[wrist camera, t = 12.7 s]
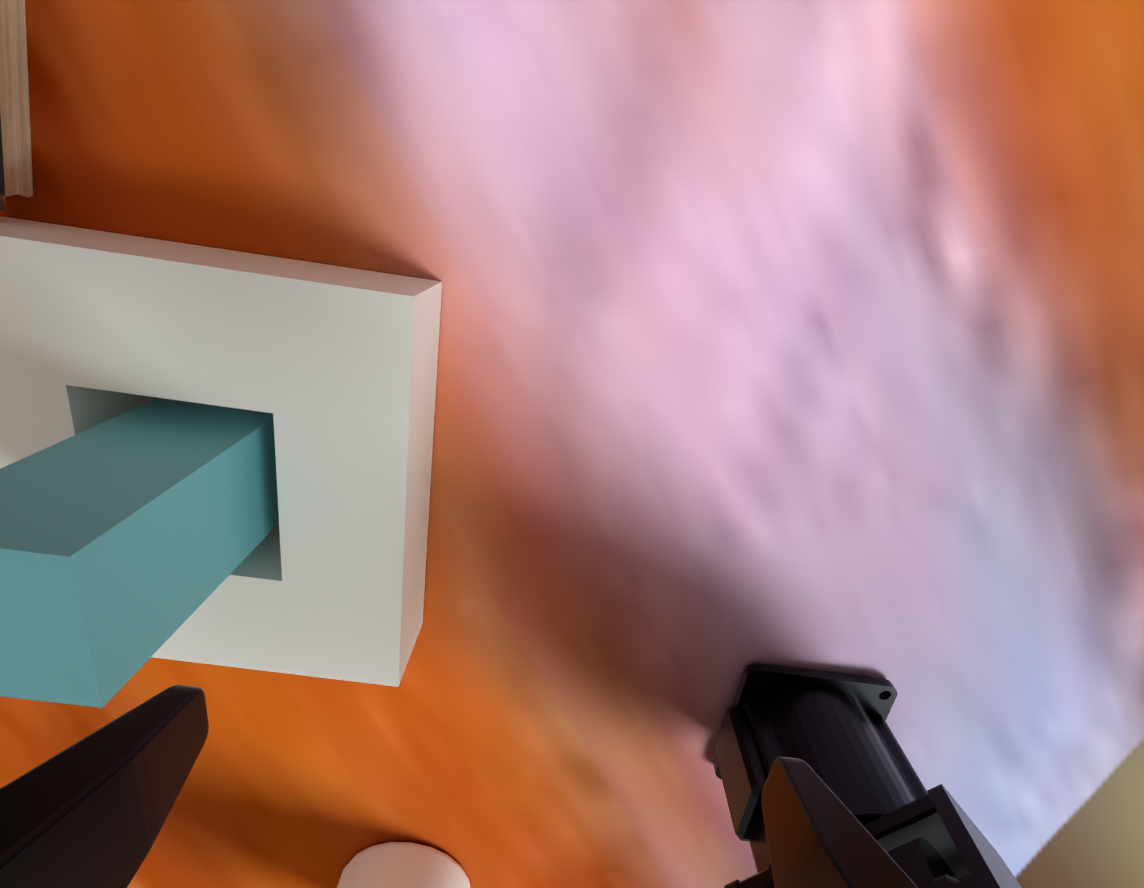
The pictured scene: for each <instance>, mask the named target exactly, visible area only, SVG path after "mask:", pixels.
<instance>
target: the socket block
mask: <svg viewBox="0 0 1144 888" xmlns="http://www.w3.org/2000/svg"><path fill="white" fill-rule="evenodd" d="M441 294H442V281H436V280H429V279H422V278H416V277H409V276H402V275H395V274H389V273H382V272H375V271H368V270H362V269H355V268H348V267H341V266H335V265H328V264H321V263H314V262H307V261H301V260H294V259H287V258H280V257H274V256H267V255H260V254H253V253H247V252H240V251H233V250H226V249H220V248H213V247H206V246H199V245H193V244H186V243H179V242H172V241H166V240H159V239H152V238H145V237H139V236H132V235H125V234H118V233H112V232H105V231H98V230H91V229H85V228H78V227H71V226H64V225H57V224H51V223H44V222H37V221H30V220H24V219H17V218H10V217H0V469H1V468H3V467H5V466H7V465H9V464H12V463H14V462H16V461H18V460H21V459H23V458H25V457H27V456H29V455H32V454H34V453H36V452H38V451H41V450H43V449H45V448H47V447H50V446H52V445H54V444H56V443H58V442H61V441H63V440H65V439H67V438H70V437H72V436H74V435H76V434H78V433H81V432H83V431H85V430H87V429H90V428H92V427H94V426H96V425H98V424H101V423H103V422H105V421H107V420H110V419H112V418H114V417H116V416H118V415H121V414H123V413H125V412H127V411H130V410H132V409H134V408H136V407H138V406H141V405H143V404H145V403H147V402H150V401H152V400H154V397H158V398H165V399H172V400H179V401H187V402H194V403H201V404H209V405H216V406H223V407H230V408H238V409H245V410H252V411H259V412H267V413H273V419H274V438H275V456H276V475H277V494H278V513H279V524H278V525H277V526H276V527H275V528H274V529H273V530H272V531H271V532H270V533H269V534H268V535H267V536H266V537H265V538H264V539H263V540H262V541H261V542H260V544H259V545H258V546H257V547H256V548H255V549H254V550H253V551H252V552H251V553H250V554H249V555H248V556H247V557H246V558H245V559H244V560H243V561H242V562H241V563H240V564H239V565H238V567H237V568H236V569H235V570H234V571H233V572H232V573H231V574H230V575H229V576H228V577H227V578H226V579H225V580H224V581H223V582H222V583H221V584H220V585H219V586H218V587H217V589H216V590H215V591H214V592H213V593H212V594H211V595H210V596H209V597H208V598H207V599H206V600H205V601H204V602H203V603H202V604H201V605H200V606H199V607H198V608H197V609H196V610H195V612H194V613H193V614H192V615H191V616H190V617H189V618H188V619H187V620H186V621H185V622H184V623H183V624H182V625H181V626H180V627H179V628H178V629H177V630H176V631H175V632H174V633H173V635H172V636H171V637H170V638H169V639H168V640H167V641H166V642H165V643H164V644H163V645H162V646H161V647H160V648H159V649H158V650H157V651H156V652H155V653H154V654H153V655H152V656H151V657H154V658H163V659H171V660H179V661H188V662H196V663H204V664H213V665H221V666H229V667H238V668H246V669H254V670H263V671H271V672H279V673H288V674H296V675H304V676H313V677H321V678H329V679H338V680H346V681H354V682H362V683H371V684H379V685H387V686H396V687H398V686H399V684H400V681H401V679H402V676H403V673H404V671H405V668H406V665H407V663H408V660H409V658H410V655H411V652H412V650H413V647H414V645H415V642H416V639H417V637H418V634H419V631H420V629H421V626H422V624H423V609H424V591H425V574H426V556H427V539H428V521H429V504H430V486H431V469H432V451H433V434H434V416H435V399H436V382H437V364H438V347H439V329H440V312H441Z"/></svg>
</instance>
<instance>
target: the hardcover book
mask: <svg viewBox="0 0 1144 888" xmlns="http://www.w3.org/2000/svg"><path fill="white" fill-rule="evenodd" d="M12 195H21V196H24V197H28V198H29V197H30V196H32V197H33V176H32V153H31V130H30V107H29V84H28V61H27V38H26V15H25V0H0V210H6V196H12Z"/></svg>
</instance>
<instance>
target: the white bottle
mask: <svg viewBox="0 0 1144 888" xmlns="http://www.w3.org/2000/svg"><path fill="white" fill-rule="evenodd" d="M337 888H470V883H469V878H468V877H467V875H466V873H465V872H464V870H463V868H462V867H461V865H459V864H458V863H457V862H456V861H455V860H453V859H452V858H451V857H450V856H449V855H447V854H445V853H443V852H441V851H439V850H436V849H434V848H432V847H430V846H425V845H421V844H416V843H412V842H388V843H383V844H378V845H374V846H371V847H369V848H367V849H365V850H363V851H361V852H359V853H357V854H356V855H355V857H354V858H353V859H352V860H351V861H350V862H349V863H348V864H347V866H346V867H345V868H344V869H343V872H342V875H341V877H340V880H339V883H338V886H337Z"/></svg>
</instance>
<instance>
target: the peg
mask: <svg viewBox="0 0 1144 888" xmlns="http://www.w3.org/2000/svg"><path fill="white" fill-rule="evenodd" d="M278 524H279V513H278V494H277V475H276V456H275V438H274V419H273V413H267V412H259V411H252V410H245V409H238V408H230V407H223V406H216V405H209V404H201V403H194V402H187V401H179V400H172V399H165V398H156V399H154V400H152V401H150V402H147V403H145V404H143V405H141V406H138V407H136V408H134V409H132V410H130V411H127V412H125V413H123V414H121V415H118V416H116V417H114V418H112V419H110V420H107V421H105V422H103V423H101V424H98V425H96V426H94V427H92V428H90V429H87V430H85V431H83V432H81V433H78V434H76V435H74V436H72V437H70V438H67V439H65V440H63V441H61V442H58V443H56V444H54V445H52V446H50V447H47V448H45V449H43V450H41V451H38V452H36V453H34V454H32V455H29V456H27V457H25V458H23V459H21V460H18V461H16V462H14V463H12V464H9V465H7V466H5V467H3V468H1V469H0V696H3V697H11V698H20V699H29V700H38V701H47V702H56V703H65V704H74V705H83V706H91V707H100V708H103V707H104V706H105V705H106V704H107V702H108V701H109V700H110V699H111V698H112V697H113V696H114V695H115V694H116V693H117V692H118V691H119V690H120V689H121V688H122V687H123V686H124V685H125V684H126V683H127V682H128V681H129V679H130V678H131V677H132V676H133V675H134V674H135V673H136V672H137V671H138V670H139V669H140V668H141V667H142V666H143V665H144V664H145V663H146V662H147V661H148V660H149V659H150V658H151V656H152V655H153V654H154V653H155V652H156V651H157V650H158V649H159V648H160V647H161V646H162V645H163V644H164V643H165V642H166V641H167V640H168V639H169V638H170V637H171V636H172V635H173V633H174V632H175V631H176V630H177V629H178V628H179V627H180V626H181V625H182V624H183V623H184V622H185V621H186V620H187V619H188V618H189V617H190V616H191V615H192V614H193V613H194V612H195V610H196V609H197V608H198V607H199V606H200V605H201V604H202V603H203V602H204V601H205V600H206V599H207V598H208V597H209V596H210V595H211V594H212V593H213V592H214V591H215V590H216V589H217V587H218V586H219V585H220V584H221V583H222V582H223V581H224V580H225V579H226V578H227V577H228V576H229V575H230V574H231V573H232V572H233V571H234V570H235V569H236V568H237V567H238V565H239V564H240V563H241V562H242V561H243V560H244V559H245V558H246V557H247V556H248V555H249V554H250V553H251V552H252V551H253V550H254V549H255V548H256V547H257V546H258V545H259V544H260V542H261V541H262V540H263V539H264V538H265V537H266V536H267V535H268V534H269V533H270V532H271V531H272V530H273V529H274V528H275V527H276V526H277V525H278Z"/></svg>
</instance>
